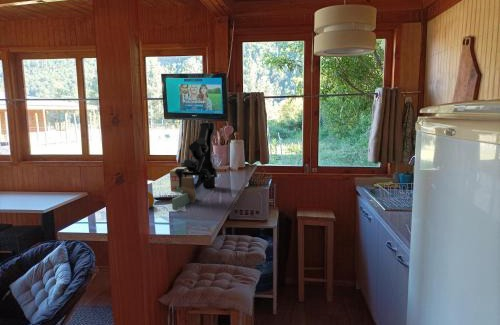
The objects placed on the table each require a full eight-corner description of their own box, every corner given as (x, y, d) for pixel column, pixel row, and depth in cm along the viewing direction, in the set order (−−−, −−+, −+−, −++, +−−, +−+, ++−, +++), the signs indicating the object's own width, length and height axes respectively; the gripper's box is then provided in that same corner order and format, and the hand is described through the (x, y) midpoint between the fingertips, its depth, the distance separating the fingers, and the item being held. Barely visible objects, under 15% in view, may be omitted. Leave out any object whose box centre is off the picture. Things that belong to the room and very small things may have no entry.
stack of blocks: (184, 183, 236) (182, 164, 234) (193, 183, 235) (192, 164, 233) (170, 191, 215) (169, 170, 213) (181, 191, 214) (179, 170, 212)
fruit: (146, 212, 173) (144, 191, 171) (124, 211, 176) (122, 190, 175) (159, 205, 184) (157, 185, 182) (138, 204, 187) (137, 185, 186)
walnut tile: (185, 201, 190) (183, 177, 188) (195, 201, 188) (193, 177, 186) (183, 202, 188) (181, 178, 186) (193, 202, 186) (191, 178, 184)
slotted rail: (193, 198, 194) (193, 189, 193) (196, 199, 193) (195, 189, 192) (172, 209, 175) (171, 198, 175) (175, 209, 175) (174, 199, 174)
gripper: (175, 153, 192) (164, 178, 184) (207, 153, 185) (197, 179, 177) (184, 165, 201) (174, 190, 192) (215, 166, 194) (206, 191, 185)
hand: (187, 187), depth 187 cm, fingers open, 9 cm apart
